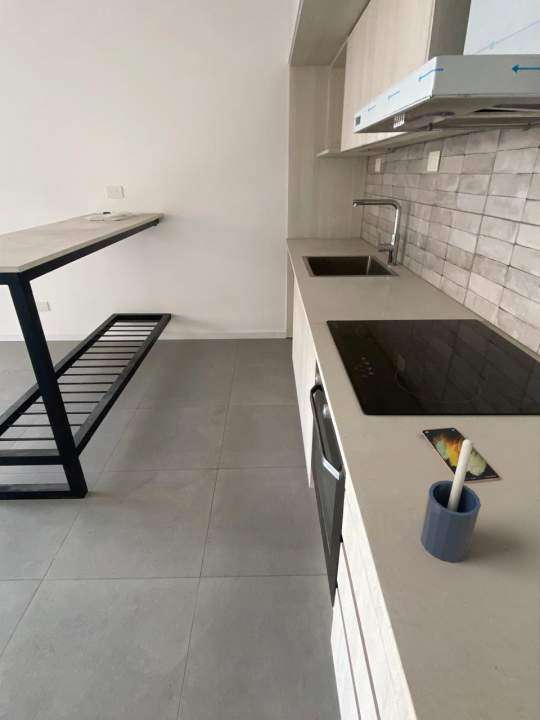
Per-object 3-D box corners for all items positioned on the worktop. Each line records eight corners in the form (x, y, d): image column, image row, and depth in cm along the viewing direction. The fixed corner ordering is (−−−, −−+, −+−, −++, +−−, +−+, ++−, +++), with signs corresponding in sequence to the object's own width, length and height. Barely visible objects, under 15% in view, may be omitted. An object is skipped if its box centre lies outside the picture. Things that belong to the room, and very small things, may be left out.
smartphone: (454, 427, 80) (501, 477, 66) (454, 429, 80) (500, 481, 66) (420, 429, 79) (460, 481, 66) (420, 432, 79) (459, 484, 66)
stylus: (445, 539, 56) (470, 438, 52) (450, 545, 55) (475, 442, 51) (437, 539, 56) (461, 437, 52) (442, 545, 55) (467, 441, 51)
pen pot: (453, 525, 59) (464, 478, 55) (476, 562, 53) (490, 513, 49) (413, 529, 58) (421, 482, 54) (432, 566, 53) (442, 517, 49)
